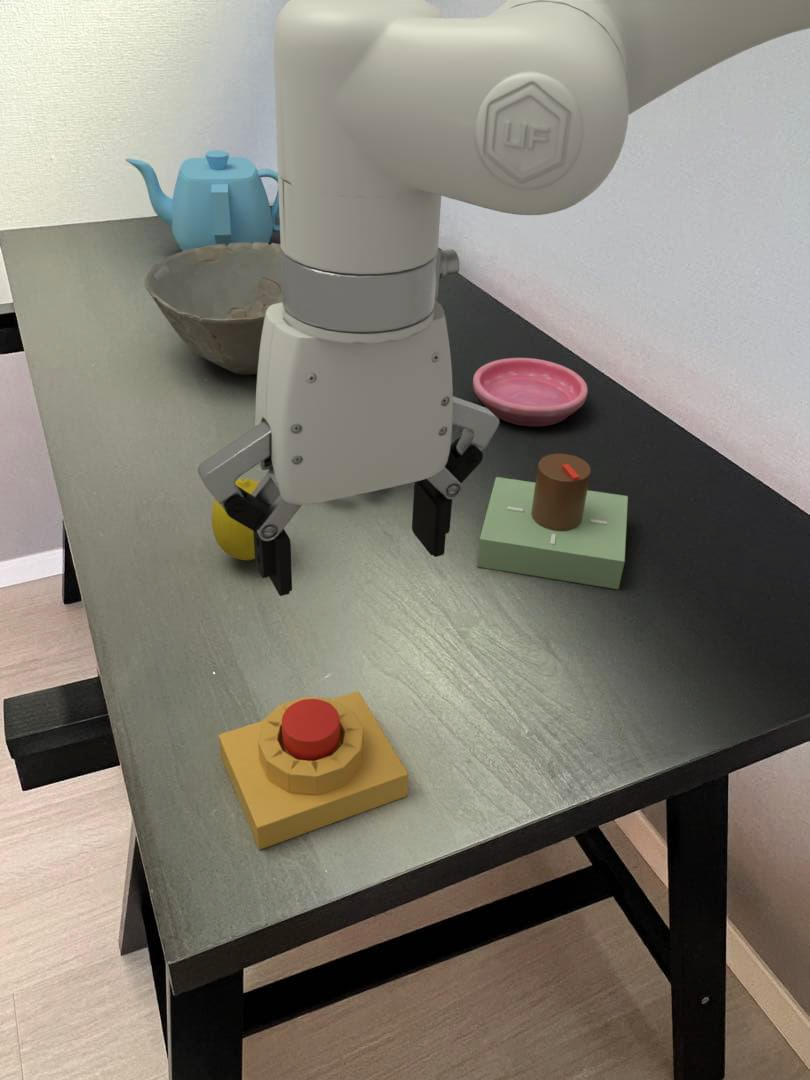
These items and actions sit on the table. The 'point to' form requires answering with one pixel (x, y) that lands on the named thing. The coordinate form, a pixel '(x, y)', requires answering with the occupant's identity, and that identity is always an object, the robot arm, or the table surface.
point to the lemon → (234, 528)
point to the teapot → (215, 201)
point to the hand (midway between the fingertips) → (354, 561)
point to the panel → (554, 538)
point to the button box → (311, 773)
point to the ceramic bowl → (219, 299)
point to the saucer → (529, 391)
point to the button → (311, 729)
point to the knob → (560, 491)
